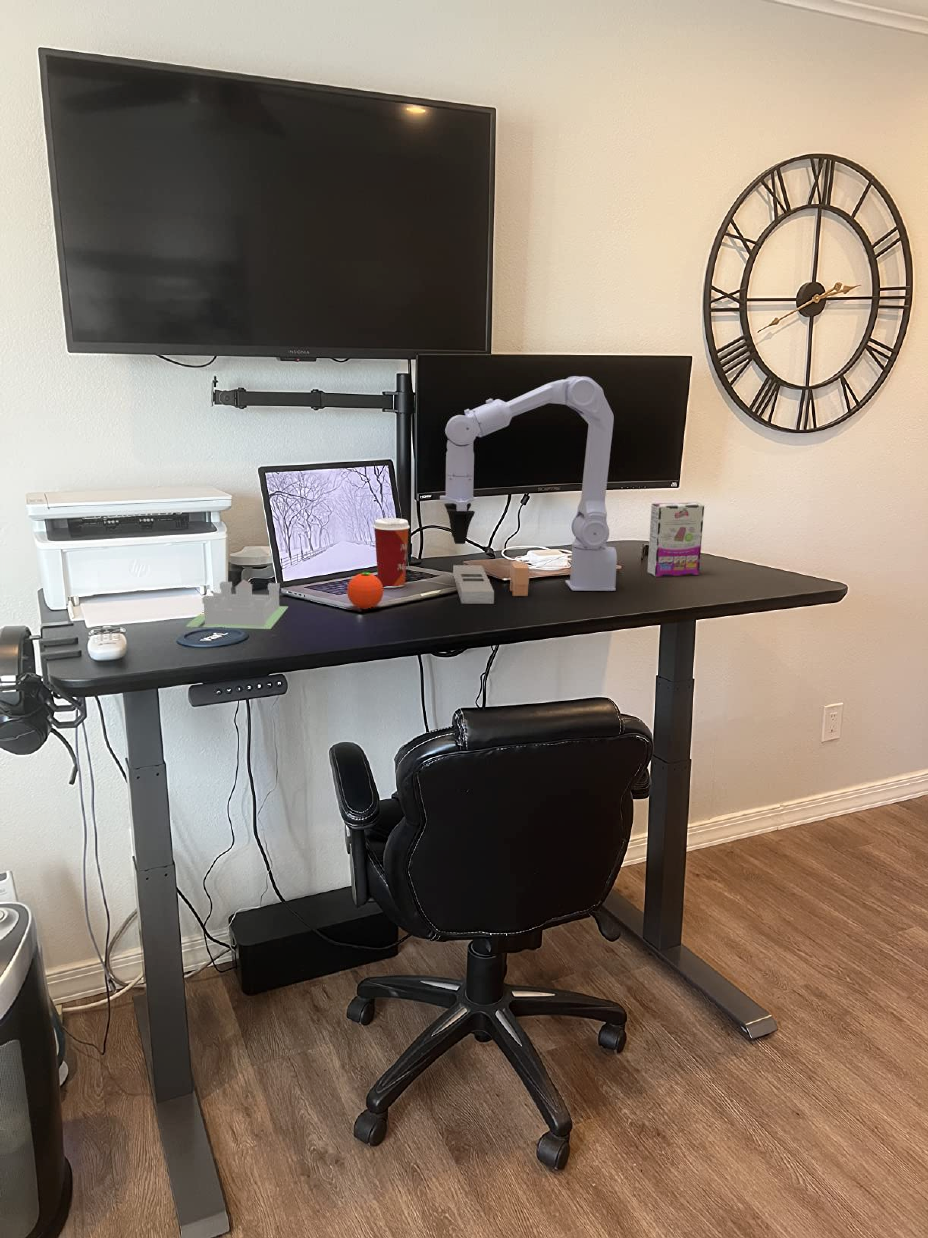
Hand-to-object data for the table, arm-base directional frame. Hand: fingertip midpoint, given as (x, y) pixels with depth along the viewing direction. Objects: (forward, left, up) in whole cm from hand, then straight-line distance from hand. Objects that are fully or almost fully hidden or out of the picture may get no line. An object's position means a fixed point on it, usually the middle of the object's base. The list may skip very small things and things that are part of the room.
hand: (458, 540), depth 188 cm
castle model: (+42, +23, -11) cm, 49 cm away
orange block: (-12, +5, -10) cm, 17 cm away
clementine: (+19, +17, -10) cm, 27 cm away
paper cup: (+14, -1, -10) cm, 17 cm away
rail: (-3, +2, -10) cm, 11 cm away
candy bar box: (-51, -13, -10) cm, 54 cm away
